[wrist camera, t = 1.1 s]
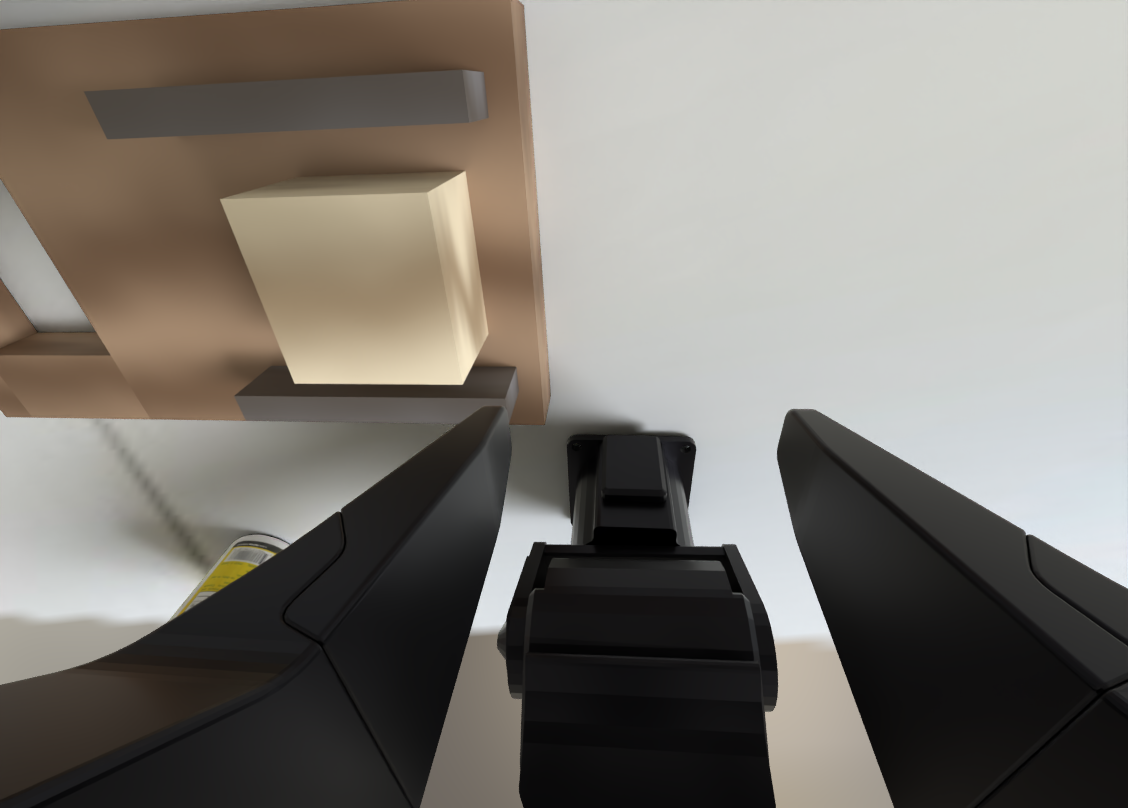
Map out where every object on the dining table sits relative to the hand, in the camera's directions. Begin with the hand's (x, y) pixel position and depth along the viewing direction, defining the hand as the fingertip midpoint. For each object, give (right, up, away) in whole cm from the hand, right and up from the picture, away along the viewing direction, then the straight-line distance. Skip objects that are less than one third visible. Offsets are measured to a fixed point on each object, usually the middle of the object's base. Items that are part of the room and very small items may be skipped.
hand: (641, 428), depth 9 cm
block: (-8, +6, +10) cm, 14 cm away
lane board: (-16, +7, +12) cm, 22 cm away
